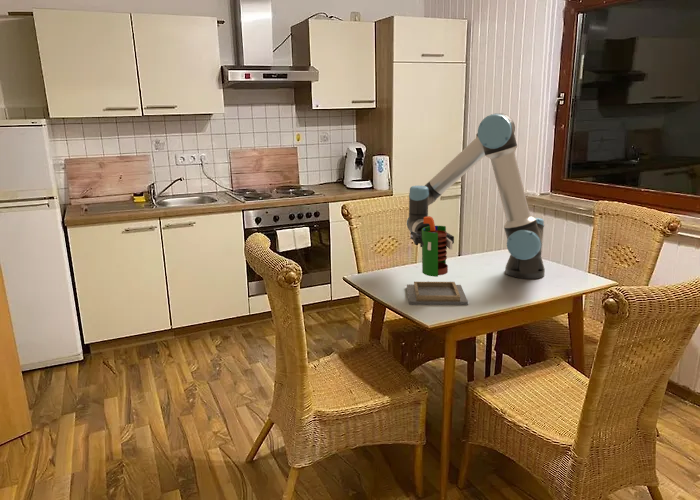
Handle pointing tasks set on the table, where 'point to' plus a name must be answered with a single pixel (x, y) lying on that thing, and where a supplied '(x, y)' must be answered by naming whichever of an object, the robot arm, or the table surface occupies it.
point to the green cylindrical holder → (434, 249)
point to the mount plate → (436, 294)
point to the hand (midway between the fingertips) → (440, 246)
